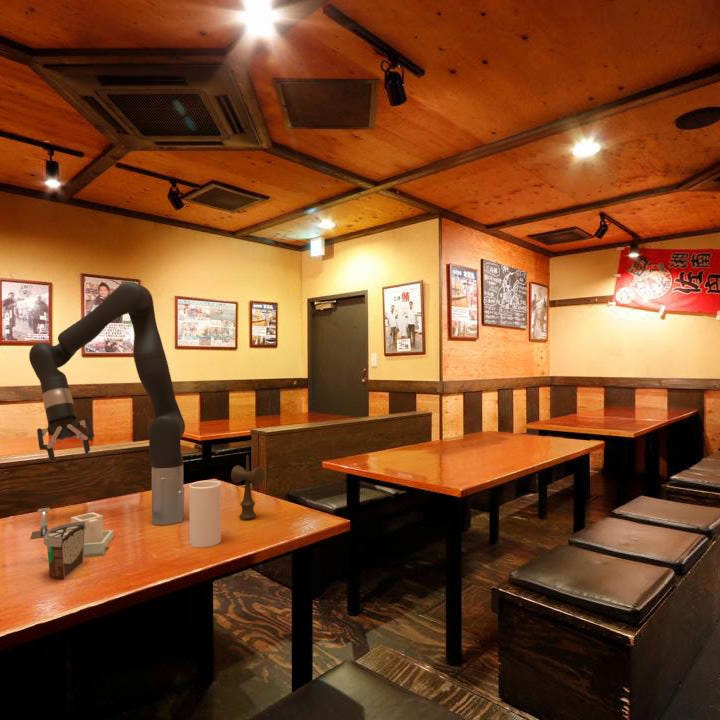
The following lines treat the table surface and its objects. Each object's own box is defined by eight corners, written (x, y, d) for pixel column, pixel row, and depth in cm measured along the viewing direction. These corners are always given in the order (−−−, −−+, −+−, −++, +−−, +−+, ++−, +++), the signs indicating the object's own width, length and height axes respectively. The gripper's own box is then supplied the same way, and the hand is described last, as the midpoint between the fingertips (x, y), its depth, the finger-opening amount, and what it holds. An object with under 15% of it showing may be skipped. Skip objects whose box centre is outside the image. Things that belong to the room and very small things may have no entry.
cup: (192, 549, 133) (192, 488, 133) (187, 539, 140) (187, 482, 140) (223, 544, 137) (223, 485, 137) (217, 535, 144) (217, 479, 144)
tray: (113, 541, 139) (113, 529, 139) (103, 555, 129) (103, 543, 129) (72, 544, 137) (72, 532, 137) (58, 559, 127) (58, 546, 127)
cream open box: (92, 541, 137) (92, 512, 137) (105, 547, 133) (105, 516, 133) (71, 547, 132) (70, 517, 132) (83, 553, 128) (83, 522, 128)
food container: (60, 561, 125) (60, 521, 125) (85, 560, 126) (85, 520, 126) (32, 583, 113) (32, 538, 113) (60, 582, 113) (60, 537, 113)
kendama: (254, 523, 154) (254, 458, 155) (229, 519, 158) (229, 455, 159) (265, 517, 160) (265, 454, 160) (241, 513, 164) (241, 452, 164)
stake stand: (65, 532, 147) (64, 503, 147) (64, 539, 140) (64, 509, 140) (32, 537, 143) (32, 507, 143) (29, 545, 137) (29, 513, 137)
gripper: (31, 407, 145) (42, 462, 142) (86, 397, 153) (98, 448, 149) (32, 414, 151) (43, 466, 148) (85, 404, 159) (96, 453, 156)
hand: (70, 457), depth 149 cm, fingers open, 8 cm apart
